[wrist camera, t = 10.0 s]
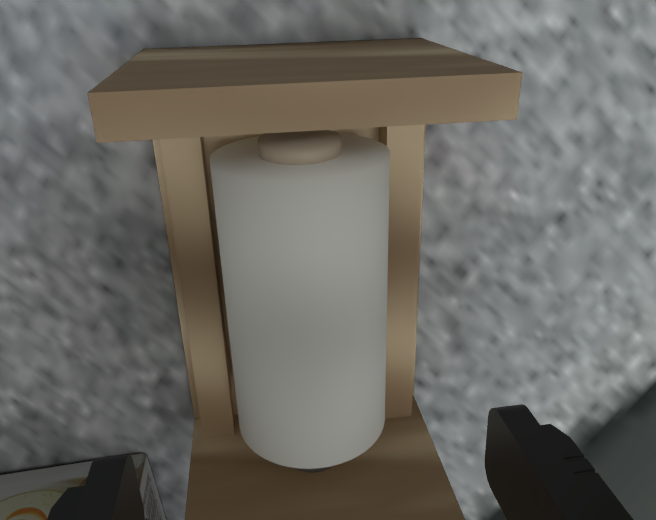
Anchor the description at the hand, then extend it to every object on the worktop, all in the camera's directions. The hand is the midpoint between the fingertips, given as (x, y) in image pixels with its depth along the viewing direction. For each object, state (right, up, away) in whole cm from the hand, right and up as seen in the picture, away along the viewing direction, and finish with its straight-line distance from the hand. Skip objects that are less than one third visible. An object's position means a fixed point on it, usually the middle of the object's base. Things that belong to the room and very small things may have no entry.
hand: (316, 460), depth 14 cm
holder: (-1, +5, +9) cm, 11 cm away
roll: (0, +3, +6) cm, 7 cm away
